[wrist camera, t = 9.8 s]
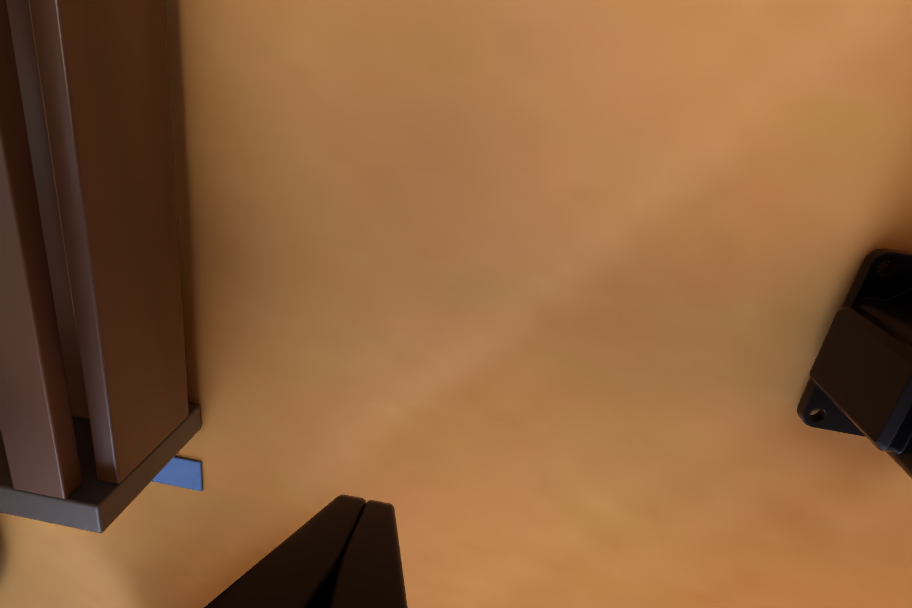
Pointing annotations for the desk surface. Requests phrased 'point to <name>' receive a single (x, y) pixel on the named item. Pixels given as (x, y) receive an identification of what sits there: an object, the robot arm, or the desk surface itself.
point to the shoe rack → (87, 261)
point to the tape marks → (181, 474)
